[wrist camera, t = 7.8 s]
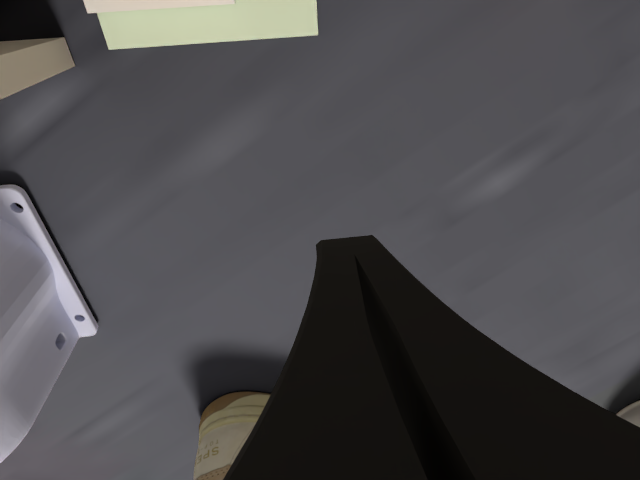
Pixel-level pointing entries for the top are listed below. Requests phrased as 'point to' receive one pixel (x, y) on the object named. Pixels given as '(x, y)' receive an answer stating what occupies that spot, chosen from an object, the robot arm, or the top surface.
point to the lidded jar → (631, 413)
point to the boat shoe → (226, 432)
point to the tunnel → (31, 62)
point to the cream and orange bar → (146, 4)
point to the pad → (209, 23)
